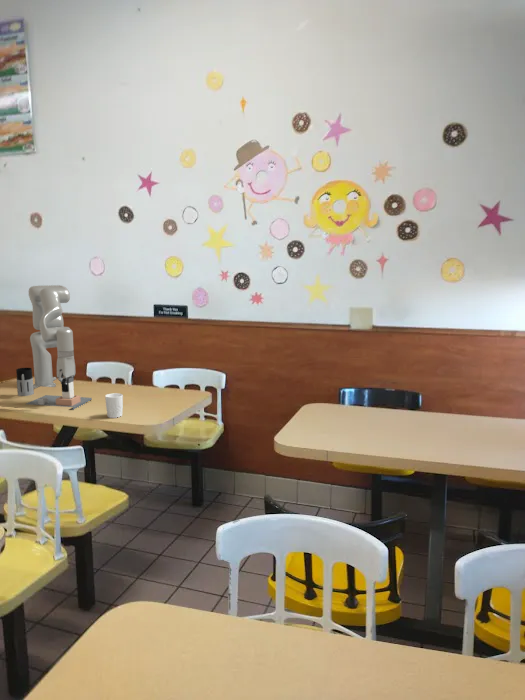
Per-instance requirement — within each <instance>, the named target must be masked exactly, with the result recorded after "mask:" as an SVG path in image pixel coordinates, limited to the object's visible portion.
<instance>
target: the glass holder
mask: <svg viewBox="0 0 525 700" xmlns="http://www.w3.org/2000/svg"><path fill="white" fill-rule="evenodd" d="M15 371H16V388H17V391H16V392H17V396H18V397H28V396H33V395H34V390H35V389H34V388H33V385H34V379H33V369H32V367H20V368H16V369H15Z"/></svg>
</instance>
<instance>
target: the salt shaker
mask: <svg viewBox="0 0 525 700" xmlns="http://www.w3.org/2000/svg"><path fill="white" fill-rule="evenodd" d="M64 380H65V379H64ZM67 384H68V392H62V391H61V396H62V398H63V399H71V398H73V397H74V395H75V391H74V390H75V388H74V381H73V377H68V378H67Z"/></svg>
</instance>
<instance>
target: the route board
mask: <svg viewBox="0 0 525 700" xmlns="http://www.w3.org/2000/svg"><path fill="white" fill-rule="evenodd" d="M90 400H92V397H83V396H81V395H75V394H74V397H73V398H71V399H63V398H62V395H50V394H45V395H43V396H40V397H38V398H36V399H33V400H31V401H29V402H26V403H25V405H30V406H31V405H32V406H46V407H47V406H49V407H67V408H69V409H68V411H74V409H75V408H77V407H78V408H80V407H82V406H84V405H86V404H87V403H86V402H88V401H90ZM90 402H91V401H90ZM85 403H86V404H85ZM88 403H89V402H88ZM83 404H84V405H83ZM81 405H82V406H81ZM79 406H80V407H79ZM78 408H77V409H78ZM75 410H76V409H75Z"/></svg>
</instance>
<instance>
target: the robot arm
mask: <svg viewBox="0 0 525 700" xmlns="http://www.w3.org/2000/svg"><path fill="white" fill-rule="evenodd" d="M68 289H69V288H67V287H66V286H63V285H59V284H57V285H53V284H52V285H33V286H30V287H29V288H28V297H29V300H30V303H31V306H32V325H33V328H34V329H35V330H37V331H36V332H33V333H31V334H30V337H29V342H30V346H31V351H32V360H33V370H34V371H33V372H34V373H33V374H34V375H33V376H34V383H33V389H34V390H35V389H37V388H40V387H42V388H43V387H46V388H55V387H57V384H56V383H55V382H54V381H56V380H58V381H59V382H60V384H61V393H62V392H68V384H67V378H68V377H73V382H75V381H74V378H75V375H76V363H75V361H76V360H75V351H74V333H73V330H72V329H71V328H70V326H64V325H65V324H64V322H65V321H64V317H63V315H62V314H63V308H62V304H67V303H69V302H70V298H71V296H70V295H71V294H70V292H69V290H68ZM50 348H51V349H53V348H56V350H57V357H56V358H57V359H56V376H53V364H52V360H53V359H52V354H51V353H50V352H49V351H48V350H47V349H50ZM64 379H65V380H64Z"/></svg>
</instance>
